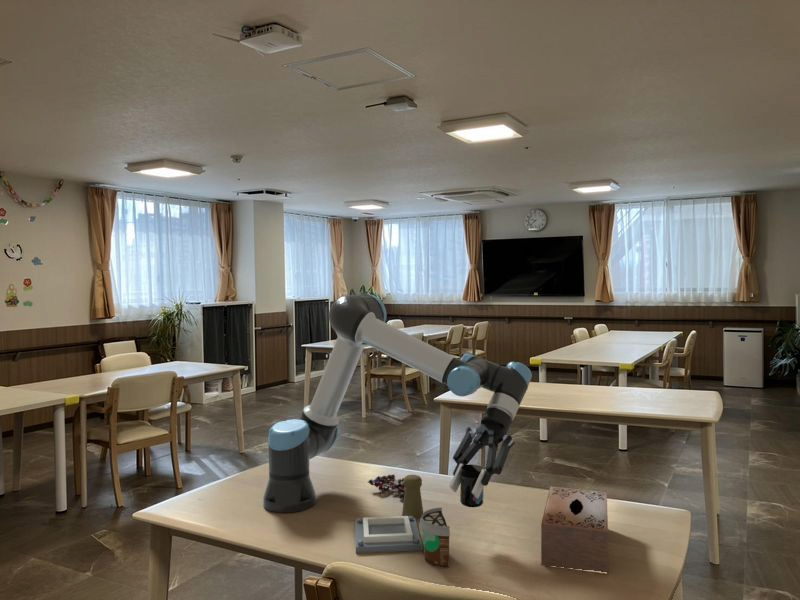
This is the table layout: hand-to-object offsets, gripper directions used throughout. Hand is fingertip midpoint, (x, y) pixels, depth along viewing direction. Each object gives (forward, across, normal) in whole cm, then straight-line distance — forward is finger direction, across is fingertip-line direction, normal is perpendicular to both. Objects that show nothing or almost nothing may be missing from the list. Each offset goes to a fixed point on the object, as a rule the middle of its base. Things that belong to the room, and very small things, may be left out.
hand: (463, 492), depth 150 cm
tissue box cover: (-3, -21, -22) cm, 31 cm away
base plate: (+16, +18, -4) cm, 24 cm away
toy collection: (-3, +38, -23) cm, 45 cm away
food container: (+17, +2, -2) cm, 17 cm away
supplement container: (0, 0, -6) cm, 6 cm away
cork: (+5, +22, -15) cm, 27 cm away
